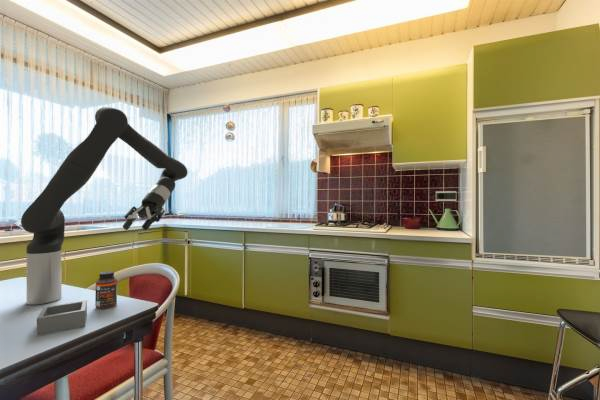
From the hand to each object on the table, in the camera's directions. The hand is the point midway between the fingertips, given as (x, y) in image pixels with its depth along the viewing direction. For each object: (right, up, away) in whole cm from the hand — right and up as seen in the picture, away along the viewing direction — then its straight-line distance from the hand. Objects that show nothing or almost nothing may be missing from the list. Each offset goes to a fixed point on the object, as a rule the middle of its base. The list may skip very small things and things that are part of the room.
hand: (134, 228), depth 106 cm
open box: (-5, -24, -25) cm, 36 cm away
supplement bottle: (-3, -25, -11) cm, 27 cm away
